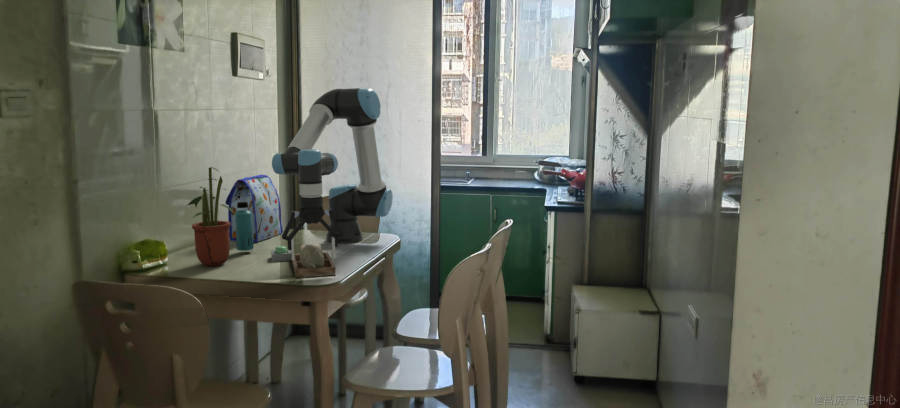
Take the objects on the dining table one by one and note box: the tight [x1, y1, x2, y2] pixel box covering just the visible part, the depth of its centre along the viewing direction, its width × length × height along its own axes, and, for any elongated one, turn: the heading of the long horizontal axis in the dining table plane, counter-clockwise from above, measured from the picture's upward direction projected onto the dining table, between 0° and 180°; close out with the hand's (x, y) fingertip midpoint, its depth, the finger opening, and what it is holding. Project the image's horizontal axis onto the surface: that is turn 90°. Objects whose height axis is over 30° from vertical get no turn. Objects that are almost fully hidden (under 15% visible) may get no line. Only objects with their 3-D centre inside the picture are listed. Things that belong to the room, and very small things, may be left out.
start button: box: [274, 245, 288, 254], centre depth 254 cm, size 4×4×4 cm
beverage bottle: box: [235, 202, 255, 252], centre depth 269 cm, size 6×7×20 cm
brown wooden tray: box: [291, 251, 336, 280], centre depth 241 cm, size 13×25×3 cm, turn 16°
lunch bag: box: [225, 174, 284, 243], centre depth 299 cm, size 23×17×27 cm
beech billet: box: [300, 243, 322, 251], centre depth 247 cm, size 7×7×6 cm
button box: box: [270, 249, 292, 262], centre depth 254 cm, size 7×7×4 cm
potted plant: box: [185, 166, 235, 267], centre depth 246 cm, size 17×16×35 cm
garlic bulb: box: [299, 244, 324, 269], centre depth 235 cm, size 9×8×10 cm
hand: (313, 258), depth 235 cm, fingers open, 13 cm apart
